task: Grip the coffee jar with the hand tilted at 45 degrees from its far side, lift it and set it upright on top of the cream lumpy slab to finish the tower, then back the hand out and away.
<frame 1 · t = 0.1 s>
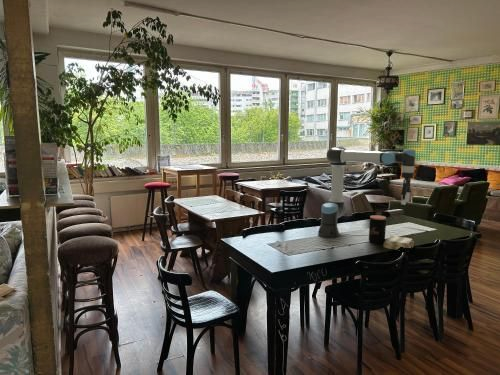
hand: (405, 203, 252), 28 cm above the table, tool pointing down, fingers open, 13 cm apart
cream lumpy slab: (398, 246, 246), on the table
coffee jar: (376, 242, 256), on the table
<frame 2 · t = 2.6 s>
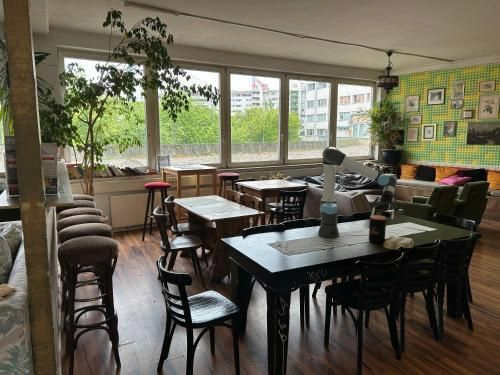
hand: (381, 217, 259), 17 cm above the table, tool tilted 45°, fingers open, 13 cm apart
nothing on the table moved.
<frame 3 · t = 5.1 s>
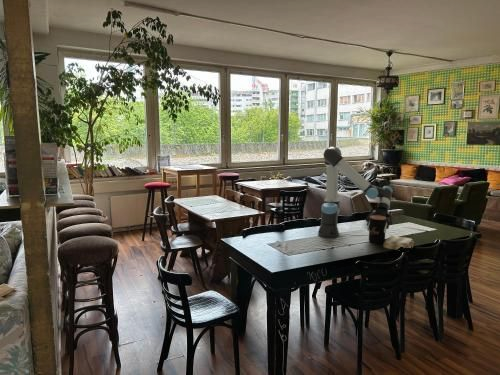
hand: (376, 230, 252), 9 cm above the table, tool tilted 45°, fingers closed on coffee jar, 11 cm apart
coffee jar: (376, 242, 256), on the table, touching gripper
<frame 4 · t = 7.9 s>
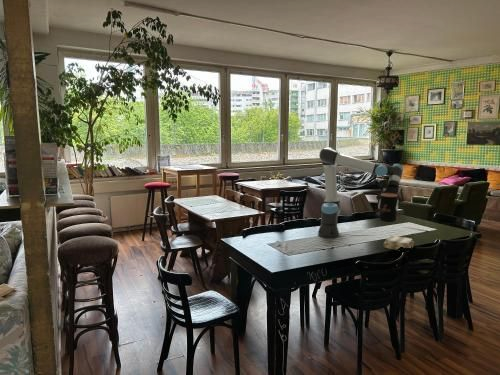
hand: (387, 208, 246), 25 cm above the table, tool tilted 45°, fingers closed on coffee jar, 11 cm apart
coffee jar: (387, 220, 250), point 16 cm above the table, touching gripper
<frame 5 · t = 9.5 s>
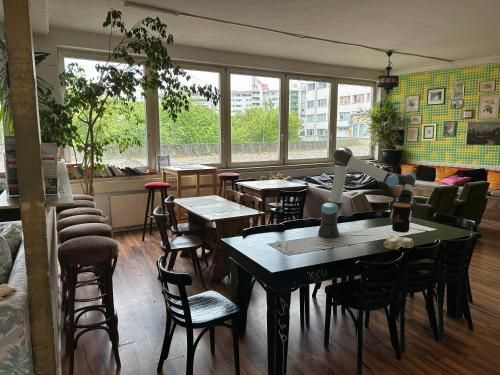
hand: (400, 219, 241), 19 cm above the table, tool tilted 45°, fingers closed on coffee jar, 11 cm apart
coffee jar: (400, 231, 244), point 11 cm above the table, touching gripper
when the fingers open (15 cm above the table, at t = 10.8 s): coffee jar drops 1 cm, resting on cream lumpy slab.
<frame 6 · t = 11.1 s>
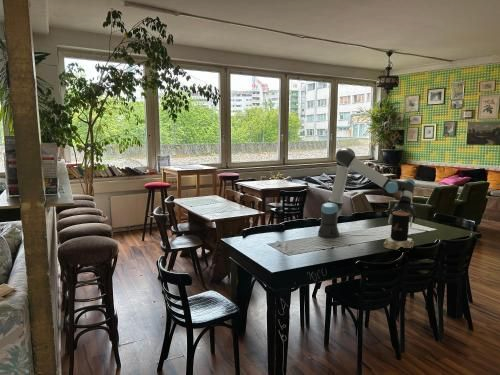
hand: (399, 224, 242), 16 cm above the table, tool tilted 45°, fingers open, 13 cm apart
coffee jar: (399, 239, 245), point 5 cm above the table, touching cream lumpy slab
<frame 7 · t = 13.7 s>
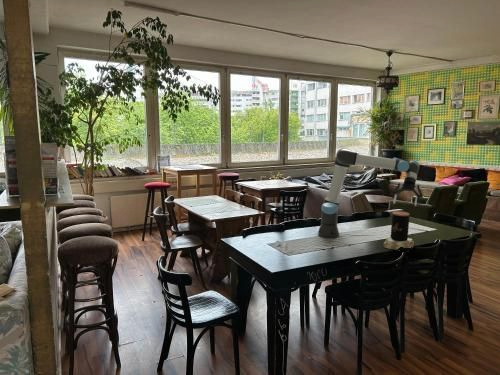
hand: (404, 203, 250), 28 cm above the table, tool tilted 45°, fingers open, 13 cm apart
nothing on the table moved.
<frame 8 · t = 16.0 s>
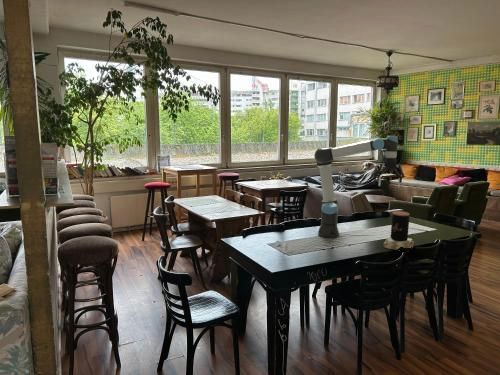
hand: (389, 186, 268), 37 cm above the table, tool pointing down, fingers open, 13 cm apart
nothing on the table moved.
at the end: coffee jar inside the target area on the cream lumpy slab (0.1 cm from its centre), point 4.8 cm above the cream lumpy slab's base; coffee jar tilted 0°; the gripper is holding nothing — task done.
